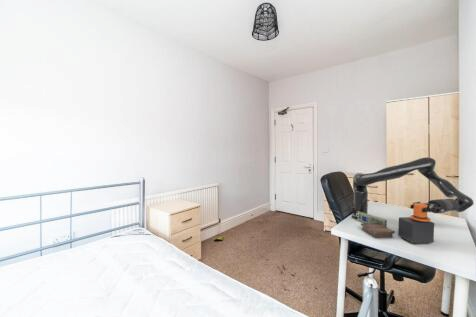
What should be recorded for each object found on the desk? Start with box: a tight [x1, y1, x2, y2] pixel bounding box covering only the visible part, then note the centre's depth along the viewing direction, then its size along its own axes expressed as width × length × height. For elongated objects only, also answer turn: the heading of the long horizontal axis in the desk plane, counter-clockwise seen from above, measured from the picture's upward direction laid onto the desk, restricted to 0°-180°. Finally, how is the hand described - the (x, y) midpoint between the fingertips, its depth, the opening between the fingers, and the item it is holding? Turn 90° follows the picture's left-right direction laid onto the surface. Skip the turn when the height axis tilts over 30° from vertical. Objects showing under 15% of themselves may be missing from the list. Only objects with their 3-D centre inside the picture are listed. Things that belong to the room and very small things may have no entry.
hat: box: [409, 202, 431, 222], centre depth 122 cm, size 9×9×8 cm
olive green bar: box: [351, 211, 388, 228], centre depth 150 cm, size 7×3×25 cm
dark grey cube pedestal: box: [398, 216, 435, 245], centre depth 123 cm, size 10×12×12 cm
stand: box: [360, 222, 395, 239], centre depth 134 cm, size 14×12×4 cm
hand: (416, 208), depth 122 cm, fingers closed on hat, 6 cm apart
